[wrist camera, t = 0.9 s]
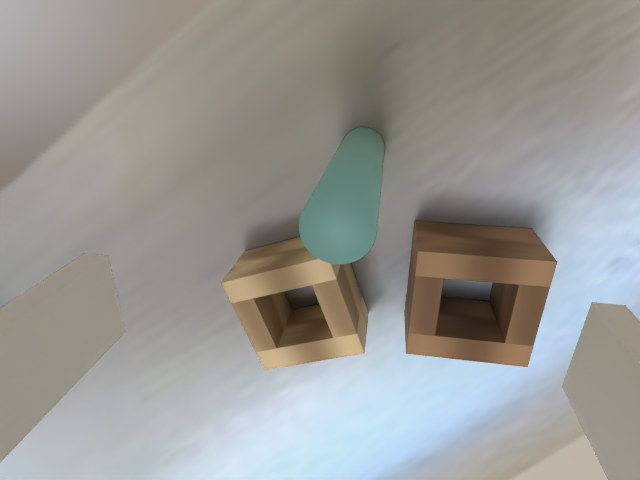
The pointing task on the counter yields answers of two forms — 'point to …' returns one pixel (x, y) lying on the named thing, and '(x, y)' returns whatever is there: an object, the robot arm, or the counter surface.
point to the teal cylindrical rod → (346, 201)
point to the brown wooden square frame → (474, 315)
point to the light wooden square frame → (299, 324)
